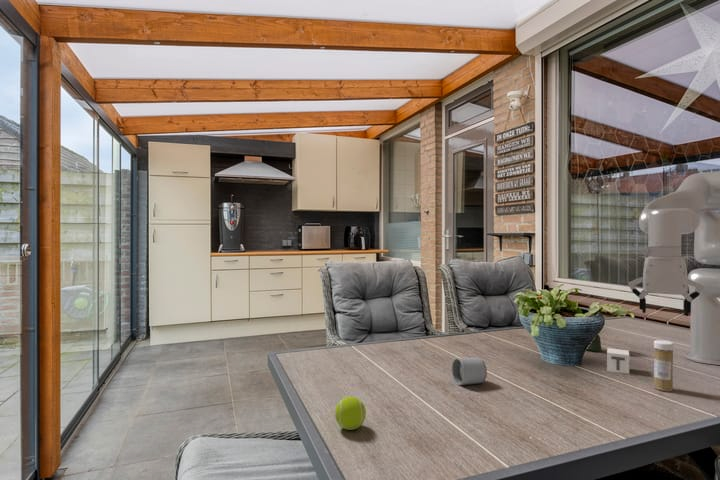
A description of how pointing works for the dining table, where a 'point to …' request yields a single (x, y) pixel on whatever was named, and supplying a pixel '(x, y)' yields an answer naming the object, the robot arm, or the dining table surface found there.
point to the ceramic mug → (468, 371)
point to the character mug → (596, 343)
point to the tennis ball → (350, 413)
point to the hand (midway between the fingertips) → (664, 313)
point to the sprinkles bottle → (663, 365)
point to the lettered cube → (618, 360)
